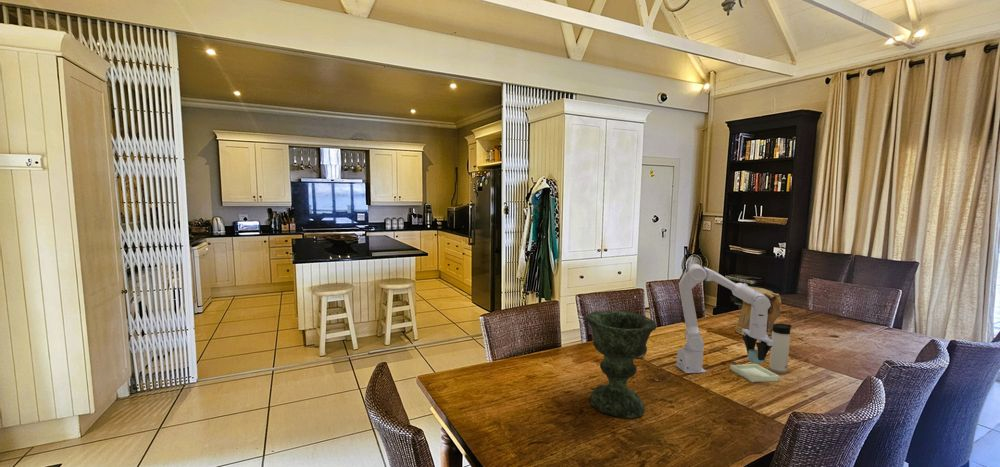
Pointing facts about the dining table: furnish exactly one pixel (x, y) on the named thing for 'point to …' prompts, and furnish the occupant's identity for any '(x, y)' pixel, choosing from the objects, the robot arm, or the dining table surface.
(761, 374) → the tray
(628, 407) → the goblet
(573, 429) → the dining table surface
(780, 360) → the travel mug
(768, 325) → the tankard
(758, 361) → the tabbed cylinder
